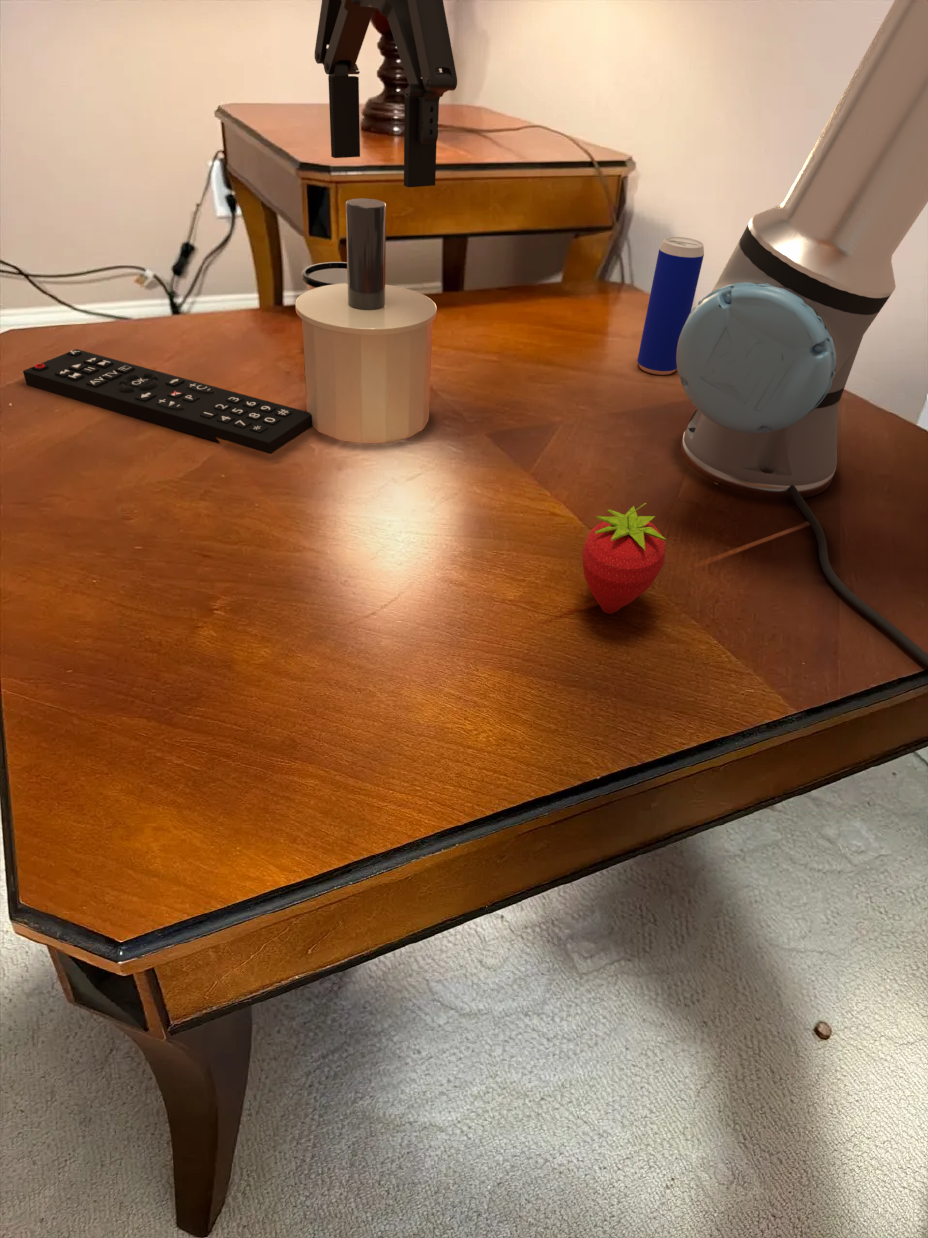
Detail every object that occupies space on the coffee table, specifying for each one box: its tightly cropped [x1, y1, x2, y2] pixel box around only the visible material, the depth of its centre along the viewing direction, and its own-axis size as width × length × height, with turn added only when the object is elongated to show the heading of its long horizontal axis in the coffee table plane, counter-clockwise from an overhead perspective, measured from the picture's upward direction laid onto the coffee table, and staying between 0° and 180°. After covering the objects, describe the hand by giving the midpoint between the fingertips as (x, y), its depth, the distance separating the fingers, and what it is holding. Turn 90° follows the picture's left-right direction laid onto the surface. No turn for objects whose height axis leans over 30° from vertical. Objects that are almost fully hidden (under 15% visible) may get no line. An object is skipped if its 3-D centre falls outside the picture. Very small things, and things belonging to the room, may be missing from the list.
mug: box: [301, 261, 347, 292], centre depth 102 cm, size 12×10×9 cm
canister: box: [301, 319, 434, 444], centre depth 85 cm, size 13×13×12 cm
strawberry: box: [581, 502, 667, 615], centre depth 62 cm, size 6×8×10 cm
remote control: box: [22, 348, 313, 455], centre depth 87 cm, size 8×32×2 cm, turn 65°
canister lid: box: [294, 198, 438, 335], centre depth 79 cm, size 14×14×10 cm
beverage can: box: [636, 236, 705, 376], centre depth 101 cm, size 5×5×15 cm
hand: (380, 170), depth 76 cm, fingers open, 13 cm apart
